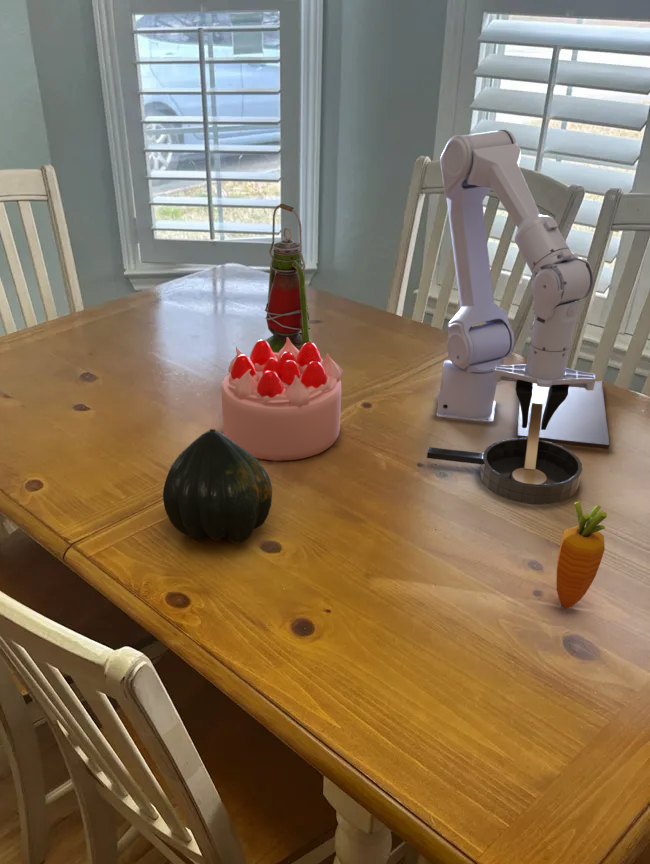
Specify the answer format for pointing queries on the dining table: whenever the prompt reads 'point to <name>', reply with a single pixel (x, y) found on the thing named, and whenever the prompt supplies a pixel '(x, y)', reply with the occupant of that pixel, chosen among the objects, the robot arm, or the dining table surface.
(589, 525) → the carrot
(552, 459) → the pan
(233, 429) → the cake
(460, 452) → the pan handle
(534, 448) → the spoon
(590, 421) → the board
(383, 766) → the dining table surface
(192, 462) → the squash
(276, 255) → the lantern
